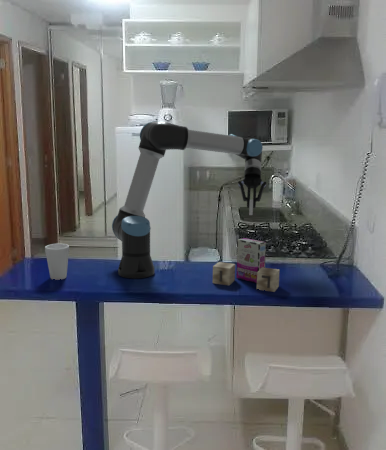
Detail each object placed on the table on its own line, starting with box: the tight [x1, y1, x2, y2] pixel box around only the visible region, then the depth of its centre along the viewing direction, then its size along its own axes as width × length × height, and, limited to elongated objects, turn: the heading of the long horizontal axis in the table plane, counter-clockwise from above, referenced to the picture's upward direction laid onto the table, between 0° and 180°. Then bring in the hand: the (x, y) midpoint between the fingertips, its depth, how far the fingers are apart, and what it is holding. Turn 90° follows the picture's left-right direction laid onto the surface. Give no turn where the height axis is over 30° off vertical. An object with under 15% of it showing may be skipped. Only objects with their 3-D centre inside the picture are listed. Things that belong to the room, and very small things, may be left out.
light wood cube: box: [256, 267, 280, 293], centre depth 188 cm, size 7×7×7 cm
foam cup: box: [44, 243, 70, 281], centre depth 197 cm, size 10×9×13 cm
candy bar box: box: [235, 237, 267, 284], centre depth 197 cm, size 11×5×16 cm, turn 47°
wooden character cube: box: [212, 261, 236, 286], centre depth 195 cm, size 7×7×7 cm
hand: (250, 213), depth 212 cm, fingers closed
